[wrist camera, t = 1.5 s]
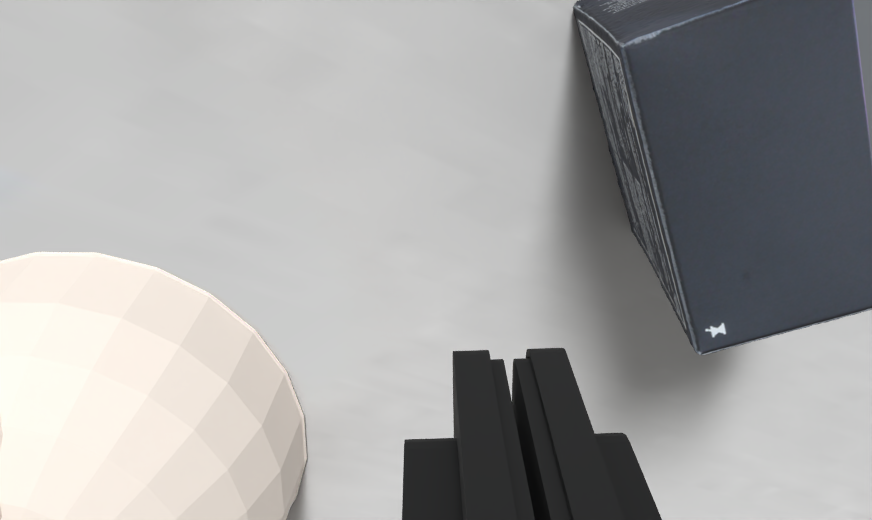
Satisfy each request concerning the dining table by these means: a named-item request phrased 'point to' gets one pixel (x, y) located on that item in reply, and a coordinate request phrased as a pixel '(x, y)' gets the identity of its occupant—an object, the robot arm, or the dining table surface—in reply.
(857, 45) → the small box
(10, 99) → the dining table surface
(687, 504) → the dining table surface
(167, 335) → the kettle
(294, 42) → the dining table surface
